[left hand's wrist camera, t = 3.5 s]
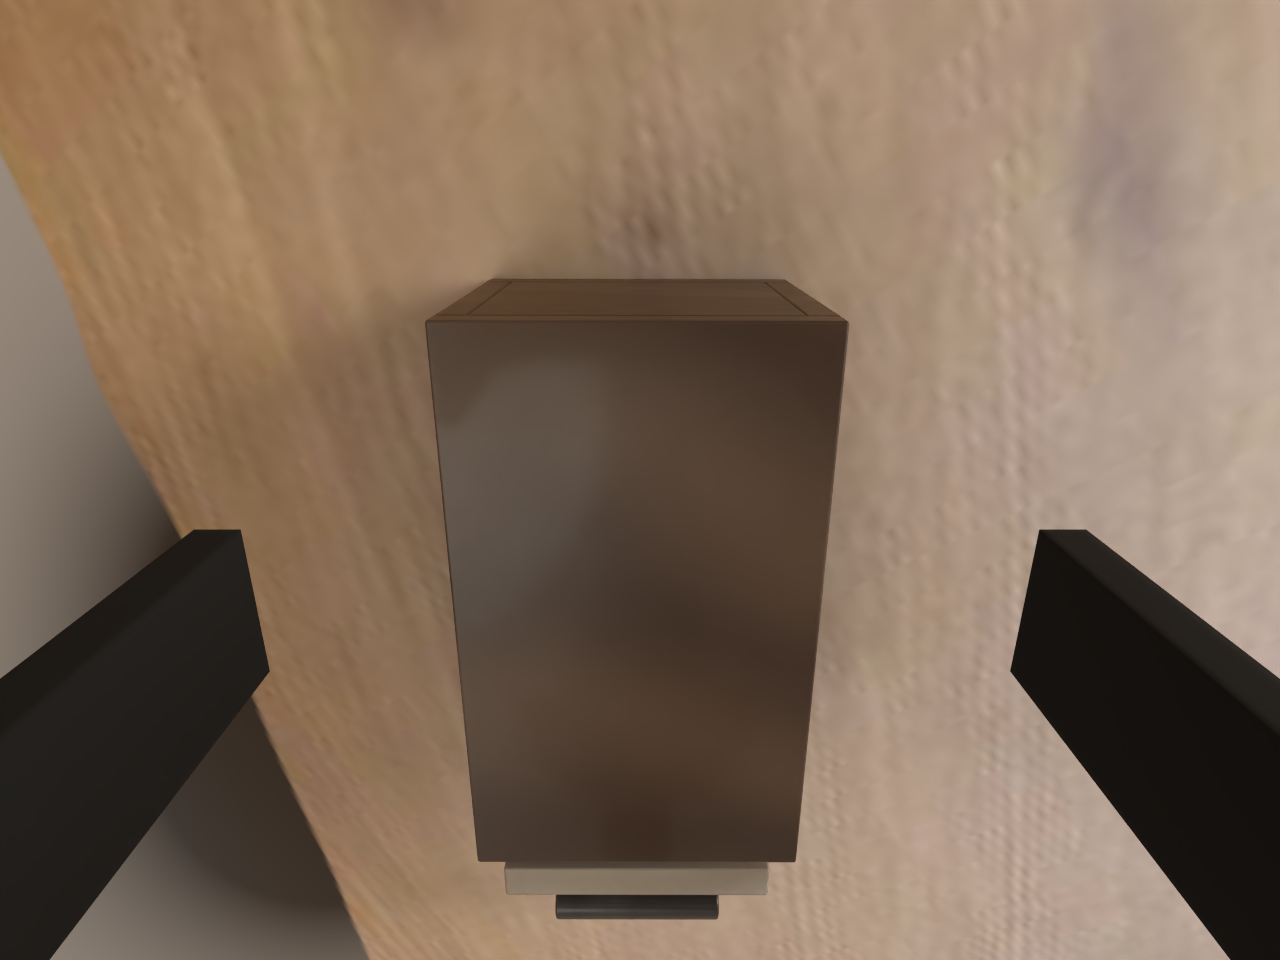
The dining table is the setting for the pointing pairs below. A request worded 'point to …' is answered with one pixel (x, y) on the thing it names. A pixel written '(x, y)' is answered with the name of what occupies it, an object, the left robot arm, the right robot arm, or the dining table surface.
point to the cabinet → (637, 559)
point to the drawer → (637, 887)
